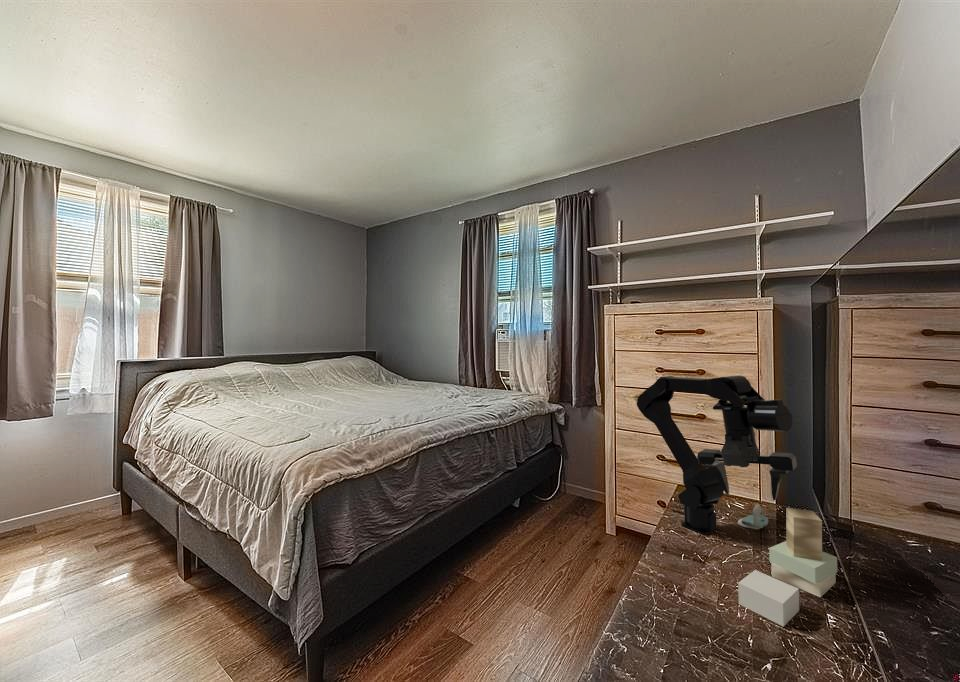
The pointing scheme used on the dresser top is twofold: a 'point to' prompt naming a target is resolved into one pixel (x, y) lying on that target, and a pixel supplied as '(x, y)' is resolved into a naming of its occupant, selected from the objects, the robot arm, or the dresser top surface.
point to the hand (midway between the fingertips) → (750, 496)
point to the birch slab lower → (803, 581)
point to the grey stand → (769, 597)
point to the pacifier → (754, 519)
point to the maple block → (804, 533)
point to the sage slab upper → (803, 563)
